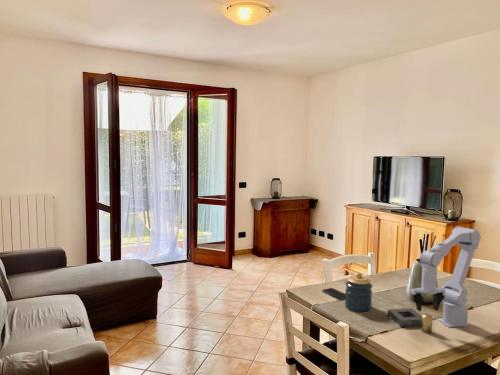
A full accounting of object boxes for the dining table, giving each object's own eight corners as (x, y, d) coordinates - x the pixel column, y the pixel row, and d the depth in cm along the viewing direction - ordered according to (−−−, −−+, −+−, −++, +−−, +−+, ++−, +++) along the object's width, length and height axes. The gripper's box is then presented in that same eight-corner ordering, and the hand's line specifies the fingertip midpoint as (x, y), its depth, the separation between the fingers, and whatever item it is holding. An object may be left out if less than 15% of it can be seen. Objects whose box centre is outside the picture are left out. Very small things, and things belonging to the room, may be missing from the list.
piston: (428, 328, 165) (428, 313, 165) (433, 333, 162) (434, 317, 161) (419, 329, 165) (420, 313, 164) (424, 333, 161) (425, 317, 160)
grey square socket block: (411, 314, 180) (411, 308, 180) (426, 325, 169) (426, 319, 168) (387, 315, 179) (387, 309, 179) (400, 327, 167) (401, 320, 167)
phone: (340, 299, 197) (321, 290, 210) (340, 301, 197) (321, 292, 210) (351, 296, 201) (331, 287, 214) (351, 298, 201) (331, 289, 214)
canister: (373, 313, 181) (374, 278, 179) (345, 311, 183) (346, 276, 182) (370, 303, 194) (371, 269, 192) (344, 301, 196) (345, 268, 195)
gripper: (418, 282, 157) (416, 314, 158) (450, 282, 158) (448, 313, 159) (409, 277, 164) (407, 307, 165) (440, 276, 165) (438, 306, 166)
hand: (427, 310), depth 162 cm, fingers open, 7 cm apart
